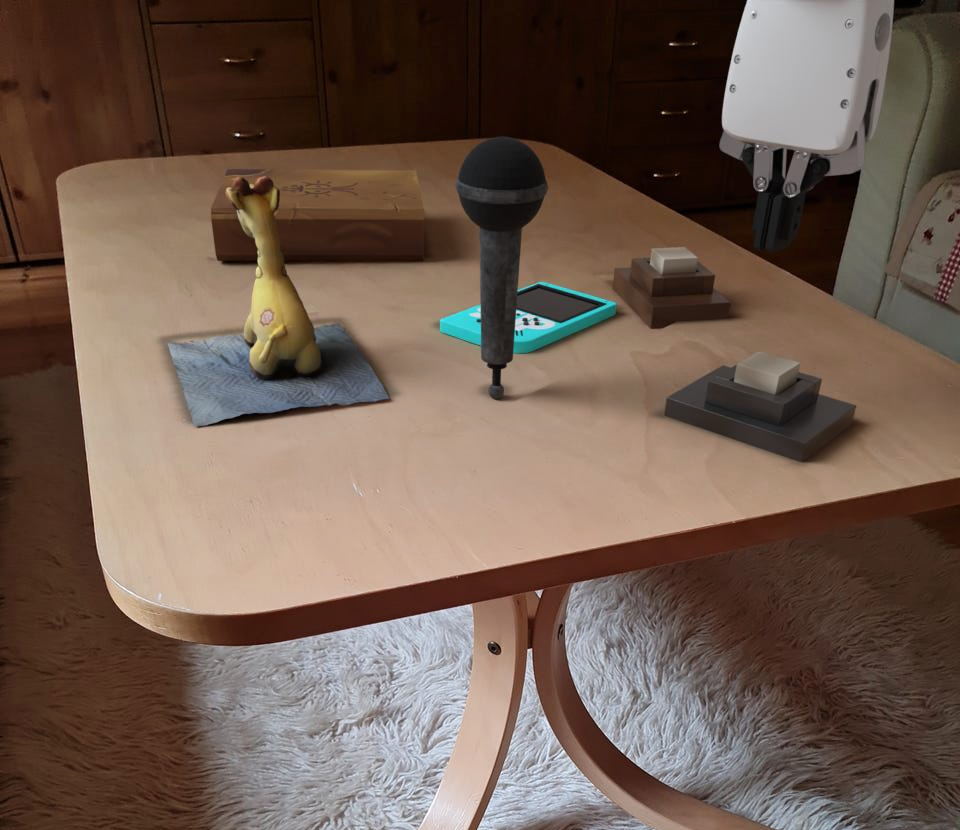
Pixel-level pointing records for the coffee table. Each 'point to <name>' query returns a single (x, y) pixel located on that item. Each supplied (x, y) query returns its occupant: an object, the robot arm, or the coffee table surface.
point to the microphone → (500, 235)
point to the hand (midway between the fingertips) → (772, 246)
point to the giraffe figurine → (271, 339)
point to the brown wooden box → (330, 216)
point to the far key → (673, 260)
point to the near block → (762, 413)
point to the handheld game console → (537, 316)
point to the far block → (669, 294)
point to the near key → (767, 372)
